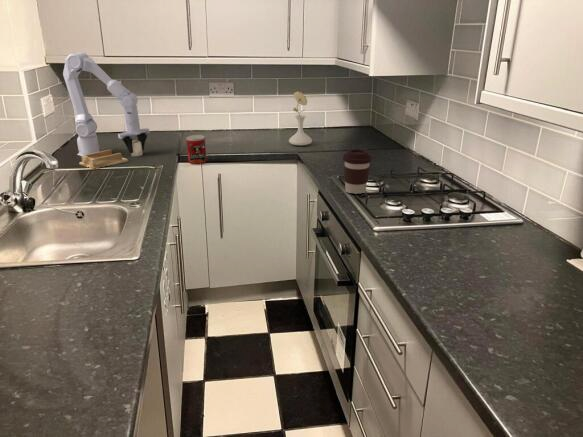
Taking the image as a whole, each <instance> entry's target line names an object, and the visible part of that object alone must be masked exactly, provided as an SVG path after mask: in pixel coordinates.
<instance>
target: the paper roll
mask: <svg viewBox="0 0 583 437" xmlns="http://www.w3.org/2000/svg"><path fill="white" fill-rule="evenodd" d="M132 148H133V153H130V154H131V157H141V156H143V151H142V146H141V141H138V140H132Z"/></svg>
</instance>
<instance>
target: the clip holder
mask: <svg viewBox="0 0 583 437" xmlns="http://www.w3.org/2000/svg"><path fill="white" fill-rule="evenodd" d="M80 157H81V161H80V162H79V165H80V166H83V167H86V168H88V167H89V168H88V169H91V168H92V169H91V170H94V171H95V170H97V169H96V168H99V169H101V168H100V167H103V168H105V166H107V167H110V165H111V166H114V165H118V164H122V163H126V162H129V159H128V158H125V157H123V156H122V153H121V152H117V153H113V152H112V149H105V150H101V151H100V150H99V152H96V153H91V154H87V155H82V156H80Z"/></svg>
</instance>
